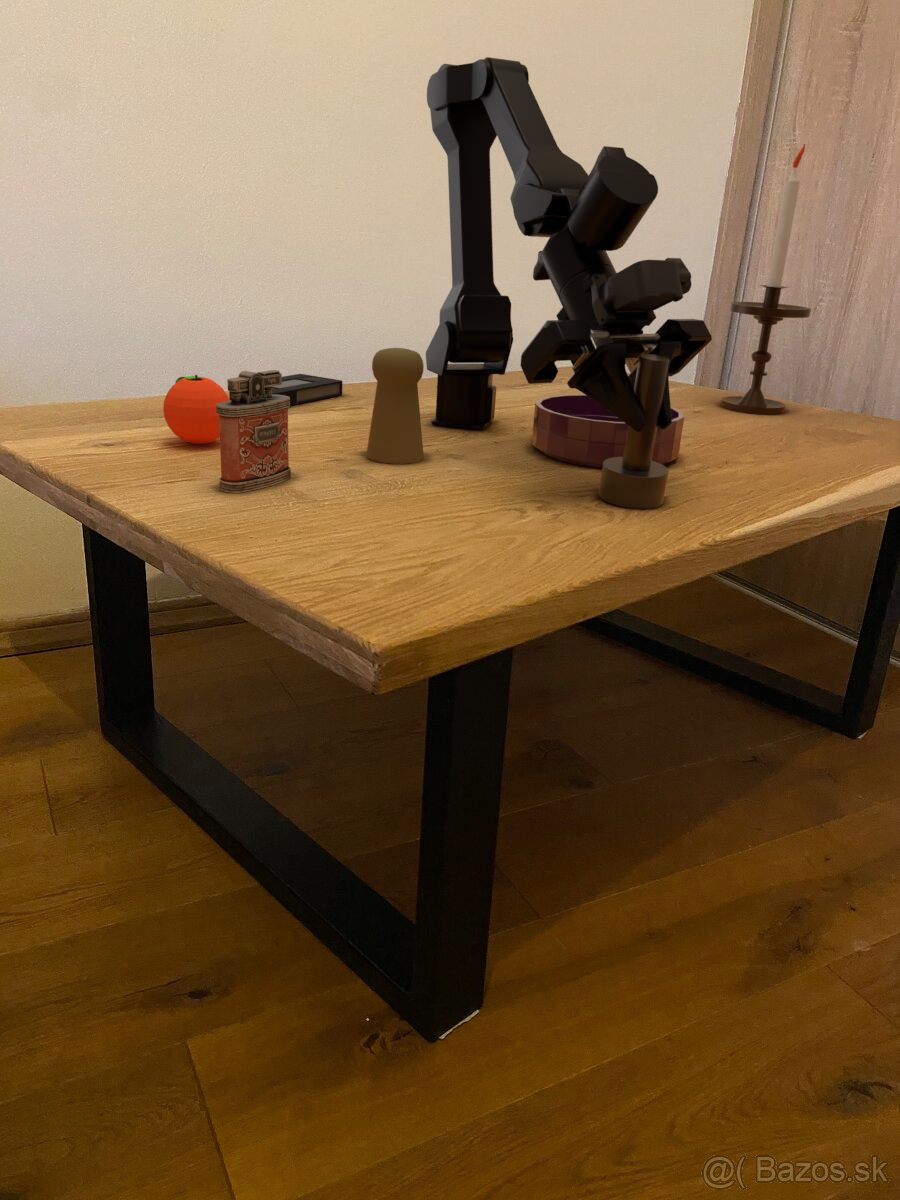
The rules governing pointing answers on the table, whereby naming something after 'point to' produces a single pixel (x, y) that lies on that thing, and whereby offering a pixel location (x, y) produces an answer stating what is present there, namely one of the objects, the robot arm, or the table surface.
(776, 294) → the candlestick
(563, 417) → the bowl
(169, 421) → the clementine
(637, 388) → the bolt
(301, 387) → the vhs tape
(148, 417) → the table surface
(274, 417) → the lighter
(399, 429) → the cork
